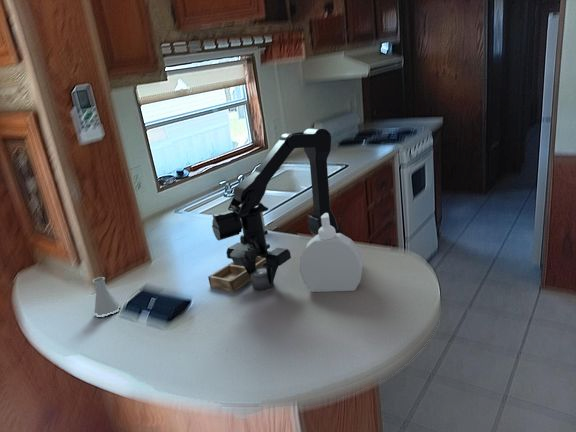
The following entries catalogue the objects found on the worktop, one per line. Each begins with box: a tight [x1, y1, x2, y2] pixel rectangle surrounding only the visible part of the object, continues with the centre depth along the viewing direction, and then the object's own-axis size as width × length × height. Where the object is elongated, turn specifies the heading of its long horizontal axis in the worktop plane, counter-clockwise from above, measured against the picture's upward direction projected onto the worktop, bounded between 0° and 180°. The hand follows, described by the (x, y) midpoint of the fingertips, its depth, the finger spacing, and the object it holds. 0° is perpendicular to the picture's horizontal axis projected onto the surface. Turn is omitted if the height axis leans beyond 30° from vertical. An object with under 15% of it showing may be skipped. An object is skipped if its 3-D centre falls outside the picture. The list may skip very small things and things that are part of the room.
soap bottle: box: [299, 213, 364, 293], centre depth 122 cm, size 16×5×20 cm, turn 78°
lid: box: [250, 268, 275, 292], centre depth 131 cm, size 6×6×4 cm
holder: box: [207, 257, 266, 293], centre depth 139 cm, size 9×17×3 cm, turn 145°
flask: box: [91, 276, 120, 315], centre depth 129 cm, size 7×7×10 cm
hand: (262, 281), depth 131 cm, fingers closed on lid, 6 cm apart
